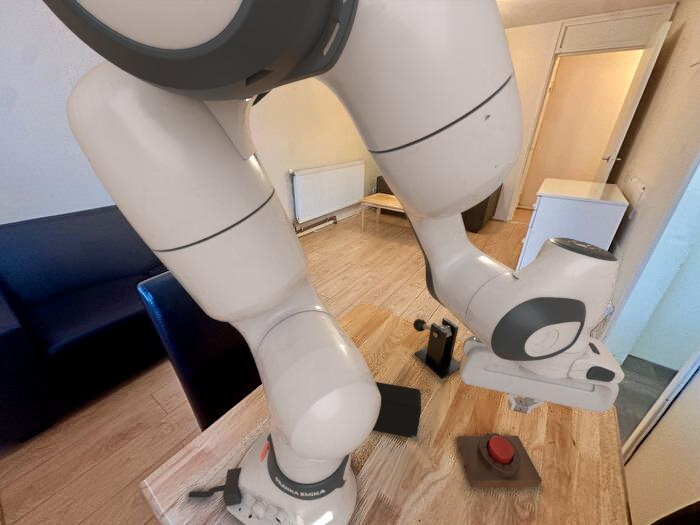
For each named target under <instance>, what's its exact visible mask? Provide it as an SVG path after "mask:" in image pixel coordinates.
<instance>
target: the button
mask: <svg viewBox="0 0 700 525" xmlns="http://www.w3.org/2000/svg"><path fill="white" fill-rule="evenodd" d="M488 452H489V454H490V455H491V457H492V458H493V459H494V460H496V461H497V462H499V463H502V464H507V463H509V462H510V461H511V459H512V457H513V454H514V450H513V447H512V445H511V444H510V443H509V442H508V441H507V440H506V439H504V438H502V437H500V436H494V437H492V438H491V439H490V441H489V444H488Z"/></svg>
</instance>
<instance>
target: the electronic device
mask: <svg viewBox="0 0 700 525" xmlns="http://www.w3.org/2000/svg"><path fill="white" fill-rule="evenodd" d="M375 383H376V385H377V387H378V390H379V392H380V395H381V407H380V412H379V415H378V418H377V421H376V424H375V426H374V427H373V429H372V431H375V432H378V433H383V434H389V435H396V436H400V437H404V438H410V439H413V437H417V436H418V431H419V427H420V426H419V425H420V420H421V413H422V391H421V390H420V389H418V388H415V387H409V386H404V385H403V386H402V385H398V384H391V383H384V382H379V381H375Z"/></svg>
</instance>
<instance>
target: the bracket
mask: <svg viewBox="0 0 700 525" xmlns="http://www.w3.org/2000/svg"><path fill="white" fill-rule="evenodd" d="M441 324H443V325H448V326H450V328H451V333H452V335H451V336H449V337H447V338H446V336H447V332H446V331H445V330H443V329H442V328H441V327H439V325H438V324H437V323H436V322H432V323H430V325H431V329H430V330H429V336H428V342H427V346H426V347H424V348H422V349H420V350H418V351H416V352H414V356H416V357H417V358H418V359H419V360H420V361H421V363H423V364H424V365H425V366H426V367H428V368H429V369H430V370H431V371H432V372H433V373H434V374H435V375H436V376H437V377H438V378H439V379H440V380H443V379H445V378H447V377H449V376H450V375H452V374H453V373H456V372H457V371H460V368H459V367H460V361H458V360H457V359H456V358H454V357H453V355H454V349H455V346H456V342H457V341H456V340H457V336H458V332H459V329H460V328H459V325H457V324H455V323H454V322H452V321H451V320H450V319H449V318H446V317H443V318H442V320H441Z"/></svg>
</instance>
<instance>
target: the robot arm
mask: <svg viewBox="0 0 700 525" xmlns="http://www.w3.org/2000/svg"><path fill="white" fill-rule="evenodd" d="M42 2H43V3H44V4H45V5H46V6H47V8H48V9H49V10H50V11H51V12H52V13H53V14H54V16H56V18H57V19H58V20H59V21H60V22H61V23H62V24H63V25H64V26H65V27H66V28H67V29H68V30H70V32H71V33H73V34H74V35H75V36H76V37H77V38H78V39H79V40H81V42H83V43H84V44H85V45H86V46H87V47H89V48H90V49H91V50H92V51H93V52H95V53H96V54H98V55H99V56H100V57H103V58H104V59H105V60H104V61H102V62H100V63H98V64H96V65H95V66H92V67H91V68H90V69H88V70H87V71H86V72H85V73H84V74H83V75H82V76H81V77H80V78H79V79H78V80H77V81H76V83H75V84H74V86H73V87H72V89H70V92H69V93H68V94H69V95H68V96H67V100H66V106H65V107H66V119H67V122H68V126H69V128H70V130H71V133H72V135H73V136H74V138H75V140H76V142H77V144H78V145H79V148H80V149H81V152H82V153H83V155H84V157H85V158H86V160H87V162H88V163H89V165H90V167H91V169H92V170H93V172H94V173H95V175H96V176H97V178H98V180H99V181H100V183H101V185H102V186H103V187H104V189H105V190H106V192H107V194H108V195H109V196H110V198H111V200H112V201H113V203H114V204H115V205H116V207H117V208H118V209H119V211H120V212H121V214H122V215H123V216H124V218H125V219H126V220H127V222H128V223H129V225H130V226H131V227H132V228H133V230H134V231H135V232H136V233H137V235H138V236H139V237H140V238H141V240H142V241H143V242H144V243H145V245H146V246H147V247H148V248H149V249H150V250H151V251H152V252H153V254H154V255H155V257H157V258H158V260H159V261H160V262H161V263H162V265H164V267H165V268H166V269H167V270H168V271H169V273H170V274H171V275H172V276H173V277H174V278H175V279H176V280H177V281H178V283H179V285H181V286H182V288H183V289H184V290H185V291H186V292H187V293H188V294H189V296H190V297H191V298H192V299H193V300H194V302H195V303H196V304H197V305H198V306H199V308H200V309H201V310H202V311H203V312H204V313H205V314H206V315H207V316H209V317H210V318H212V319H214V320H216V321H219V322H224V323H228V324H230V325H231V326H232V327H234V328H235V329H236V330H237V331H238V332H239V333H240V335H241V336H242V337H243V339H244V340H245V342H246V343H247V345H248V348H249V349H250V352H251V355H252V357H253V359H254V362H255V365H256V368H257V371H258V374H259V378H260V381H261V383H262V385H261V386H262V388H263V392H264V396H265V399H266V403H267V407H268V413H269V415H268V428H267V429H266V430H265V431H263V433H262V434H261V435H260V436H259V437H258V438H257V440H256V441H255V442H254V443H253V444H252V445H251V447H250V448H249V449H248V451H246V453H245V454H244V456H243V458H242V459H241V461H240V463H239V465H238V467H234V468H231V469H227V472H226V476H225V482H224V484H223V485H218V486H213V487H211V488H209V490H208V491H189V493H188V498H209V497H212V496H214V494H215V493H218V492H223V494H222V499H223V501H224V504H225V506H226V510H227V511H228V513H230V514H231V515H232V516H233V517H235V518H236V519H237V520H238V521H240V522H241V523H242V524H243V525H348V523H349V521H350V520H351V518H352V516H353V513H354V511H355V508H356V503H357V499H358V486H357V480H356V476H355V473H354V470H353V468H352V467H351V463H352V453H353V452H354V451H356V450H357V449H358V448H359V447H361V445H362V444H364V442H365V441H366V440H367V438H368V437H369V436H370V434H371V433H372V431H373V430H372V429H373V427H374V426H375V424H376V421H377V418H378V415H379V412H380V407H381V395H380V392H379V390H378V387H377V385H376V383H375V382H376V380H375V377H374V375H373V372H372V370H371V369H370V367H369V364H368V362H367V361H366V358H365V356H364V354H363V353H362V352H361V351H360V349H359V348H358V346H357V345H356V344H355V343H354V341H353V340H352V338H351V337H350V335H348V333H347V332H346V331H345V329H344V328H343V326H342V325H341V324H340V323H339V321H338V320H337V318H336V317H335V316H334V314H333V312H332V311H331V310H330V309H329V307H328V306H327V304H326V302H325V301H324V300H323V298H322V297H321V295H320V293H319V291H318V289H317V286H316V284H315V282H314V279H313V277H312V274H311V270H310V268H309V258H308V255H307V253H306V250H305V249H304V247H303V245H302V243H301V240H300V238H299V236H298V234H297V232H296V230H295V228H294V226H293V223H292V222H291V220H290V218H289V216H288V213H287V211H286V209H285V207H284V205H283V203H282V201H281V199H280V197H279V195H278V193H277V190H276V188H275V186H274V183H272V180H271V179H270V175H269V174H268V173H267V170H266V169H265V166H264V164H263V162H262V160H261V158H260V155H259V153H258V151H257V149H256V146H255V143H254V140H253V136H252V131H251V124H250V118H251V117H250V116H251V110H252V107H255V106H256V105H257V104H258V103H259V102H260V101H261V100H262V99H264V98H265V97H266V96H267V95H268V94H269V93H270V92H271V91H273V90H274V89H277V88H280V87H283V86H286V85H289V84H293V83H296V82H300V81H303V80H307V79H310V78H311V79H312V78H313V79H315V80H317V81H319V82H320V83H322V84H323V85H324V86H326V87H327V88H328V89H329V91H331V92H332V93H333V95H334V96H335V97H336V98H337V99H338V101H339V103H340V104H341V106H343V108H344V110H345V111H346V113H347V115H348V116H349V118H350V120H351V121H352V124H353V125H354V127H355V129H356V131H357V133H358V135H359V137H360V139H361V140H362V142H363V145H364V146H365V148H366V151H367V152H368V153H369V155H370V157H371V159H372V161H373V163H374V165H375V167H376V168H377V170H378V171H379V173H380V175H381V177H382V178H383V180H384V181H385V183H386V185H387V187H388V188H389V190H390V191H391V193H392V194H393V196H394V197H395V198H396V200H397V201H398V203H399V204H400V206H401V208H402V210H403V213H404V215H405V217H406V219H407V222H408V224H409V226H410V228H411V231H412V233H413V235H414V237H415V240H416V242H417V244H418V246H419V248H420V251H421V253H422V256H423V259H424V265H425V284H426V289H427V291H428V293H429V295H430V296H431V298H432V299H433V300H435V301H436V302H437V303H439V304H440V305H441V306H442V307H443V308H445V309H447V310H448V311H449V313H451V314H452V316H454V317H455V318H456V319H457V320H458V321H459V322H460V324H462V325H463V326H464V327H465V328H466V329H467V330H468V331H469V332H470V333H471V334H472V335H471V336H469V337H466V338H465V339H464V341H463V344H462V355H461V358H460V361H459V363H460V367H459V368H460V369H459V378H460V379H461V381H462V382H463V383H464V384H465V385H467V386H472V387H478V388H482V389H487V390H491V391H496V392H500V393H504V394H506V395H507V398H508V399H507V407H508V409H509V410H508V411H513V412H517V413H521V414H526V415H531V412H532V410H533V409H535V408H538V407H540V406H543V405H544V403H545V402H547V403H551V404H556V405H559V406H564V407H569V408H573V409H578V410H583V411H587V412H591V413H592V412H593V413H597V414H601V413H604V412H608V411H609V410H610V409H611V408H612V407H613V405H614V403H615V402H616V399H617V397H618V395H619V391H620V387H619V384H620V383H622V381H623V380H624V378H625V376H626V375H625V373H624V371H623V369H622V367H621V365H620V363H619V362H618V361H617V359H616V358H615V356H614V355H613V354H612V352H611V351H610V350H609V349H608V347H607V346H606V345H605V344H604V343H603V341H601V340H599V339H597V338H594V337H591V332H592V330H593V329H594V328H595V327H596V326H597V325H599V324H600V322H601V320H602V319H603V317H604V315H605V313H606V310H607V309H608V306H609V304H610V301H611V299H612V296H613V294H614V291H615V287H616V284H617V280H618V276H619V272H620V262H619V259H618V258H617V257H616V256H614V254H612V253H611V252H610V251H608V250H606V249H604V248H601V247H600V246H596V245H594V244H591V243H588V242H585V241H581V240H577V239H574V238H569V237H563V236H560V237H559V236H556V237H549V238H546V239H545V241H544V242H543V244H542V245H541V247H540V249H539V250H538V253H537V254H536V256H535V258H534V260H533V261H532V262H530V263H529V264H527V265H526V266H524V267H523V268H520V269H518V270H514V269H513V268H511V267H509V266H507V265H505V264H504V263H502V262H501V261H499V260H497V259H495V258H494V257H493V256H490V255H489V254H487V253H486V252H485V251H484V250H482V249H481V248H479V247H477V246H475V245H474V244H473V243H472V242H471V241H470V239H469V238H468V235H467V231H466V227H465V224H464V220H463V217H462V216H463V215H462V213H464V212H466V211H468V210H470V209H472V208H473V207H475V206H477V205H478V204H480V203H481V202H483V201H484V200H486V199H488V197H490V196H491V195H492V194H494V192H495V191H496V190H498V189H499V188H500V187H501V185H502V184H503V183H504V182H505V181H506V180H507V178H508V177H509V176H510V174H511V173H512V171H513V169H514V168H515V166H516V164H517V162H518V159H519V158H520V156H521V153H522V149H523V140H524V113H523V108H522V101H521V95H520V91H519V86H518V82H517V77H516V72H515V68H514V63H513V58H512V54H511V50H510V46H509V40H508V37H507V34H506V30H505V29H506V28H505V26H504V22H503V18H502V16H501V12H500V9H499V5H498V2H497V0H42Z"/></svg>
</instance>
